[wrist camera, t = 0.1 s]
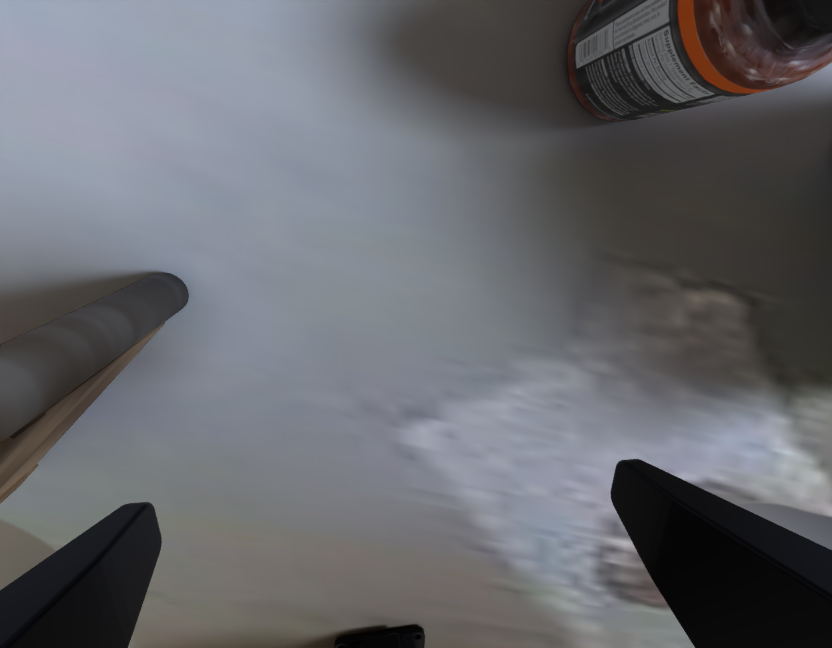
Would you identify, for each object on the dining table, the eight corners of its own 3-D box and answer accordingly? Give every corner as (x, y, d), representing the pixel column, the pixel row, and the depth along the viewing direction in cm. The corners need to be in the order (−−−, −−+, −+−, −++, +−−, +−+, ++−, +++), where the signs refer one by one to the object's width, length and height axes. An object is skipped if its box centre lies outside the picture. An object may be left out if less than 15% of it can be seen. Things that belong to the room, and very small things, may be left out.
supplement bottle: (648, -51, 18) (1053, -373, 8) (693, 74, 20) (1062, -43, 10) (538, 35, 19) (778, -156, 8) (593, 149, 21) (843, 115, 10)
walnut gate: (160, 263, 19) (-51, 352, 9) (197, 292, 20) (38, 404, 10) (-15, 460, 21) (-351, 715, 11) (25, 480, 22) (-258, 738, 12)
